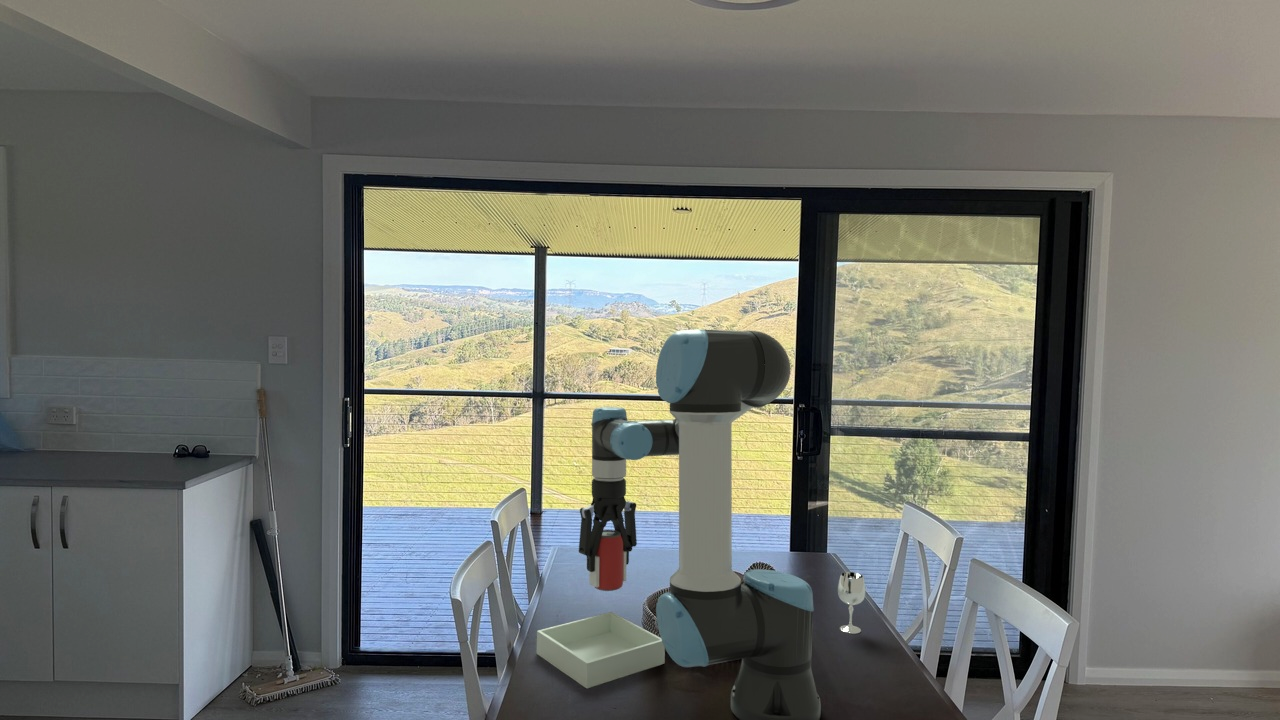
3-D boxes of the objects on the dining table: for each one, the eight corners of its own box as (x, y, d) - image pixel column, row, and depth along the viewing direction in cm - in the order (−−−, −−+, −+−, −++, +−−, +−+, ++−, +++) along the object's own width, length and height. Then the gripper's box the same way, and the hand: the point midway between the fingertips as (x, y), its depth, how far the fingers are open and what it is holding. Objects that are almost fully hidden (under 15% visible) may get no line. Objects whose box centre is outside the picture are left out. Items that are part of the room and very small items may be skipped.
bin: (664, 663, 149) (665, 640, 149) (586, 688, 138) (587, 663, 138) (611, 633, 164) (611, 611, 163) (536, 653, 153) (536, 630, 153)
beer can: (619, 592, 166) (619, 537, 165) (589, 590, 167) (589, 535, 167) (625, 583, 172) (626, 530, 172) (597, 581, 173) (597, 528, 173)
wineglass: (833, 631, 167) (835, 576, 166) (840, 622, 172) (841, 569, 171) (860, 636, 164) (862, 581, 164) (866, 627, 169) (868, 573, 169)
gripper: (634, 471, 178) (633, 570, 178) (561, 479, 166) (560, 586, 166) (654, 476, 172) (653, 578, 172) (580, 485, 160) (579, 595, 160)
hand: (607, 582), depth 169 cm, fingers closed on beer can, 6 cm apart
